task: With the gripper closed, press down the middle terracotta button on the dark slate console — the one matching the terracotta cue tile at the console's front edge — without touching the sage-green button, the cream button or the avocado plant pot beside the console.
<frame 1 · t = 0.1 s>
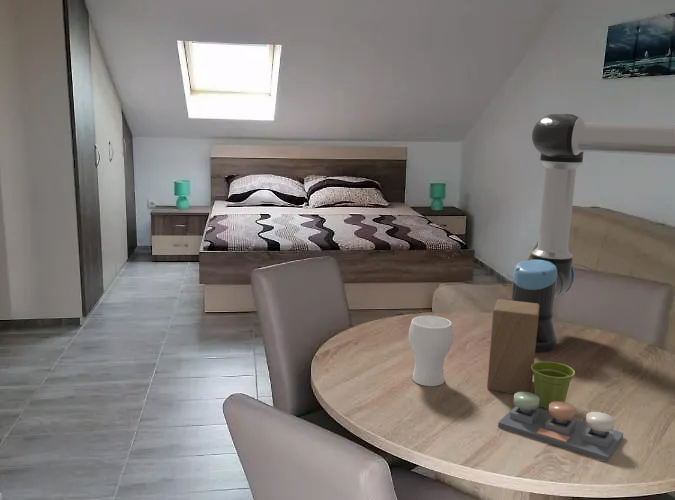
button sage: (526, 403, 136), point 4 cm above the table, slide at 0.0 cm
console: (559, 432, 132), on the table
button cream: (599, 424, 127), point 4 cm above the table, slide at 0.0 cm
wooden block: (509, 386, 155), on the table
button terracotta: (561, 413, 131), point 4 cm above the table, slide at 0.0 cm
cup: (428, 380, 156), on the table
plant pot: (549, 405, 145), on the table
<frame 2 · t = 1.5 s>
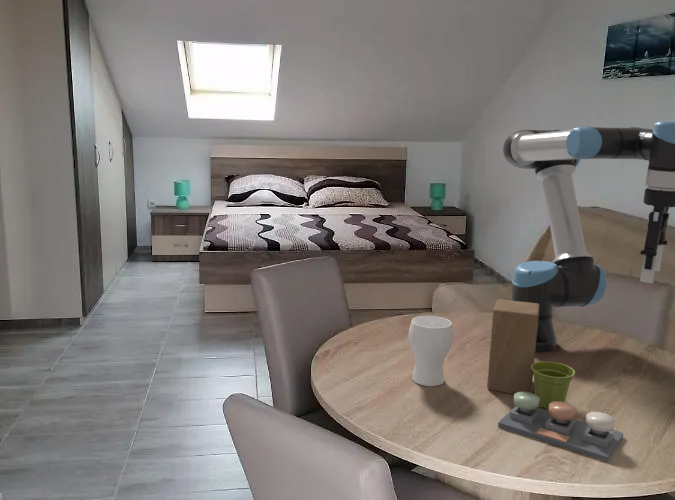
hand: (650, 276, 154), 27 cm above the table, fingers open, 13 cm apart
nothing on the table moved.
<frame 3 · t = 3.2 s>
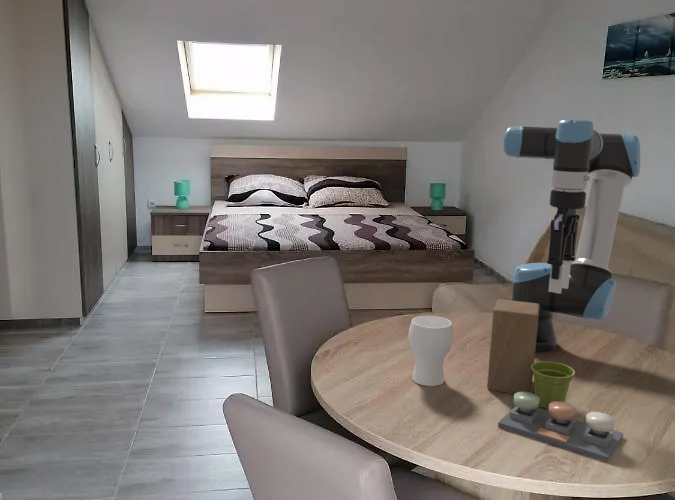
hand: (558, 289, 148), 25 cm above the table, fingers open, 4 cm apart
nothing on the table moved.
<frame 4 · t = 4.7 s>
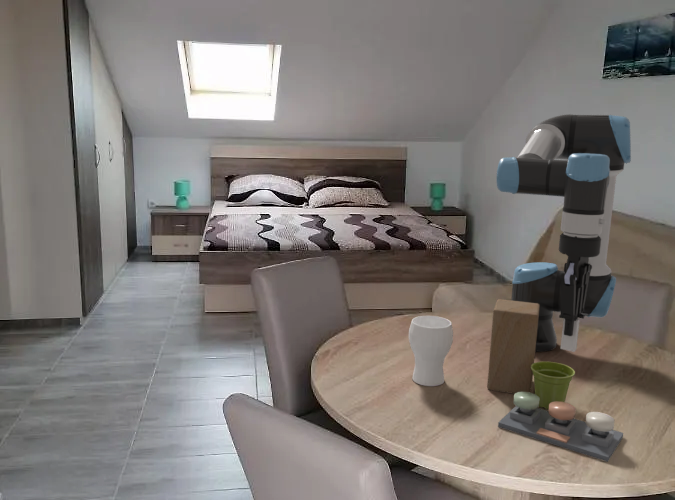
hand: (568, 349, 128), 18 cm above the table, fingers closed
nothing on the table moved.
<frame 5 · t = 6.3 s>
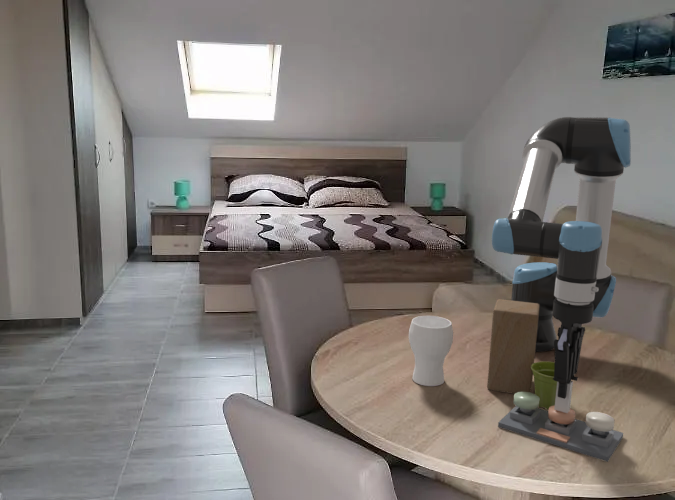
hand: (562, 410, 131), 5 cm above the table, fingers closed
button terracotta: (561, 417, 131), point 3 cm above the table, slide at -0.9 cm, touching gripper
everything else where it was.
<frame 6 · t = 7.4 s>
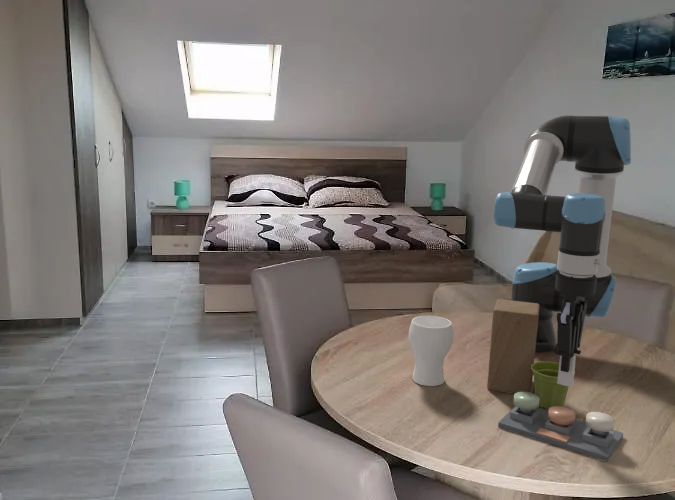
hand: (564, 384, 130), 10 cm above the table, fingers closed
button terracotta: (561, 418, 131), point 3 cm above the table, slide at -1.1 cm
everything else where it was.
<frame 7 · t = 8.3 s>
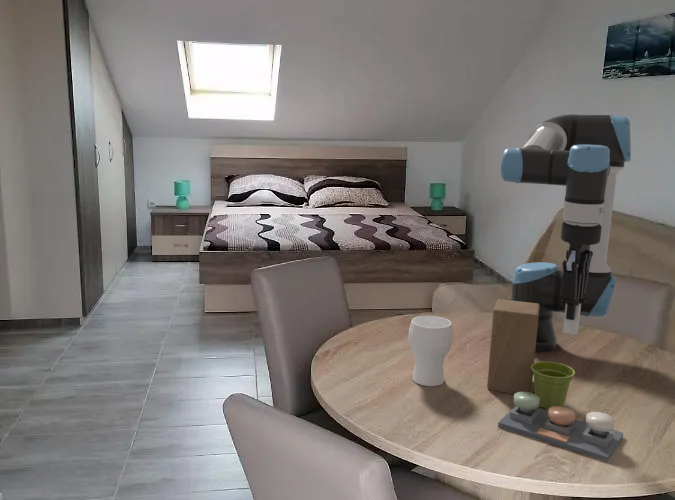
hand: (570, 332, 134), 20 cm above the table, fingers closed
nothing on the table moved.
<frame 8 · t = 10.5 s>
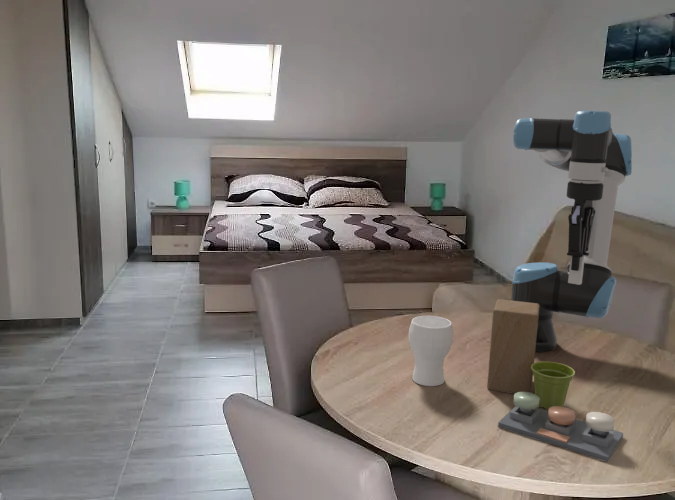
hand: (574, 283, 147), 26 cm above the table, fingers closed
nothing on the table moved.
at the end: button terracotta slide at -1.1 cm; button sage slide at 0.0 cm; button cream slide at 0.0 cm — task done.
